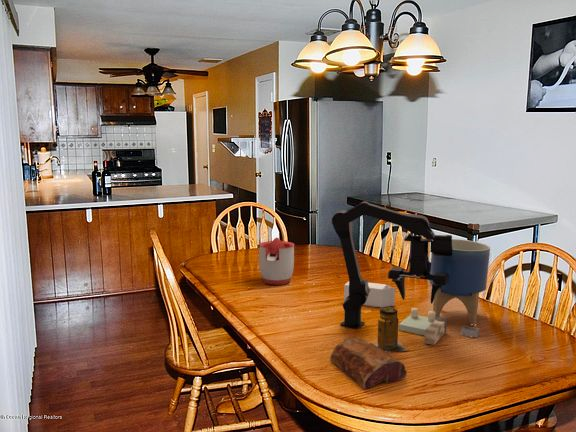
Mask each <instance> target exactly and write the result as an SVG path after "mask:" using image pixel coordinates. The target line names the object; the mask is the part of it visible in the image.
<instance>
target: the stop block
mask: <svg viewBox="0 0 576 432" xmlns="http://www.w3.org/2000/svg"><path fill="white" fill-rule="evenodd" d="M461 334H462V335H461ZM460 335H461V336H463V335H467V336H466V337H468V336H472V337H471V338H473V337H476V338H475V339H477V338H478V337H479V336H480V327H475V326H471V325H470V326H469V325H463V326H461V327H460ZM478 335H479V336H478Z"/></svg>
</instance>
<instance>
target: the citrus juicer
mask: <svg viewBox="0 0 576 432" xmlns="http://www.w3.org/2000/svg"><path fill="white" fill-rule="evenodd" d="M258 246H259V270H260V274H261V278H262V281H263V282H264V283H265V284H269V285H281V286H282V285H283V286H284V285H286V284H288V283H290V281H291V280H292V276H293V274H294V265H295V243H294V242H290V241H285V240H281V239H280V238H279V237H275V238H274V239H273V240H269V241H263V242H260V243H259V244H258Z"/></svg>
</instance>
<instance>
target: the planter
mask: <svg viewBox="0 0 576 432" xmlns="http://www.w3.org/2000/svg"><path fill="white" fill-rule="evenodd" d="M490 252H491V247H490V246H489V245H487V244H486V243H482V242H479V241H474V240H468V239H467V240H466V239H458V238H452V257H451V256H434V254H432V253H431V259H430V262H431V272H429V274H435V273H436V272H443V273H448V274H449V282H448V283H447V284H446V285H443V286H442V287H439V289H438V291H437V293H436V296H435V298H434V301H433V303H432V305H433V307H432V311H434V312H436V314H435V319H436V318H437V317H441V313H442V310H443V308H444V307H445V305H447V303H448V302H449V301H451V300H452V299H453V300H454V299H455V298H456V299H458V300H459V301H460V302H462V304H463V306H465V309H466V312H467V314H468V319H469V321H468V324H469V323H470V324H473V325H475V324H476V325H477V320H478V319H477V318H478V309H479V298H480V296H479V295H480V293H481V292H484V291H486V290H487V282H488V274H489V273H488V272H489V263H490V254H491V253H490ZM428 282H429V284H430V285H431V286H432V285H433V284H434V282H433V280H428ZM470 324H469V325H470ZM476 325H475V326H476Z"/></svg>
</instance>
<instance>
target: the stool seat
mask: <svg viewBox="0 0 576 432" xmlns="http://www.w3.org/2000/svg"><path fill="white" fill-rule="evenodd" d="M410 309H411V310H410V315H409V316H407V317H406V318H404V320H402V321H401V322H400V323H398V331H402V332H406V333H410V334H411V333H412V334H416V335H420V336H424V337H425V330H426V329H427V328H428V327H429V326H430V325H431V324H432V323H433V322H434V321H435V320H436V319H435V314H436V312H434V311H433V310H428V312H427V314H428V315H427V316H423V315H419V308H417V307H411V308H410Z"/></svg>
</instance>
